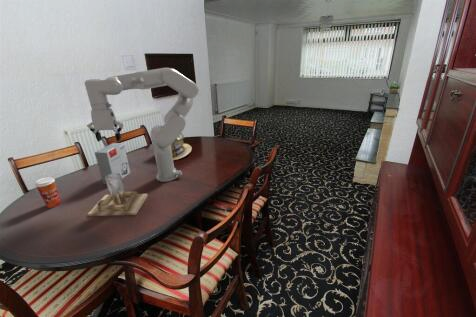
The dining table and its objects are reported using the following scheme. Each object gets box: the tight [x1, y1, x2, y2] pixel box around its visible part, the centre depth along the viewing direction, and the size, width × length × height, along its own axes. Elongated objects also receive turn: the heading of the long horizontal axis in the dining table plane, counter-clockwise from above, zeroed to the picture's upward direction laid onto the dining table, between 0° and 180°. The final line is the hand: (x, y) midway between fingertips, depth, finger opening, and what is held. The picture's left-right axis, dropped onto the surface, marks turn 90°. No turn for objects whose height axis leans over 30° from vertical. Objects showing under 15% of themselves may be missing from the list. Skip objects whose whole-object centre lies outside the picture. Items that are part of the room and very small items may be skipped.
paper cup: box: [34, 176, 62, 209], centre depth 115 cm, size 8×8×14 cm
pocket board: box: [87, 191, 148, 217], centre depth 116 cm, size 22×16×4 cm
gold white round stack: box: [171, 132, 193, 161], centre depth 171 cm, size 25×25×17 cm
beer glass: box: [105, 173, 127, 205], centre depth 113 cm, size 7×7×15 cm
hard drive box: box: [94, 142, 131, 185], centre depth 138 cm, size 16×8×20 cm, turn 168°
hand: (109, 140), depth 119 cm, fingers open, 9 cm apart
